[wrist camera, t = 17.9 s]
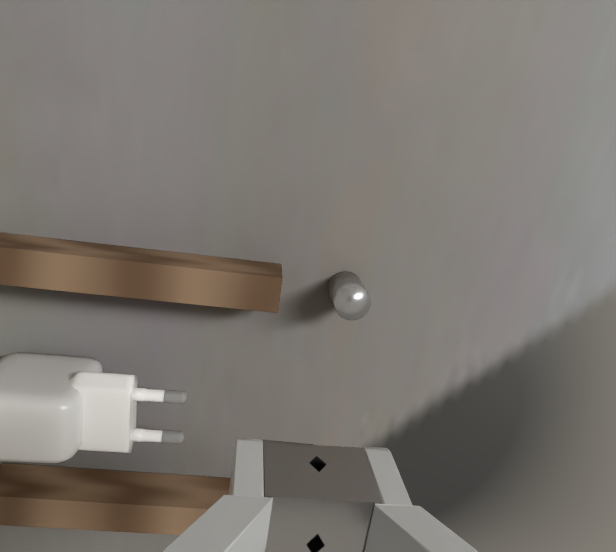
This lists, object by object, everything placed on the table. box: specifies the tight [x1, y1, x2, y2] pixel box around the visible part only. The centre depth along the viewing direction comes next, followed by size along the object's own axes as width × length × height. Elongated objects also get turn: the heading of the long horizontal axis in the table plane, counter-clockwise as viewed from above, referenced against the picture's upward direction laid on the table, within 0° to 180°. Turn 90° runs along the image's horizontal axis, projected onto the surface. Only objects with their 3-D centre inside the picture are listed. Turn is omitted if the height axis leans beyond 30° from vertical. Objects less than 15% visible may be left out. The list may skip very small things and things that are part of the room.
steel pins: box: [328, 271, 371, 320], centre depth 31 cm, size 2×17×3 cm, turn 172°
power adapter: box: [0, 353, 187, 463], centre depth 29 cm, size 11×5×6 cm, turn 83°
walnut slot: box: [0, 233, 282, 535], centre depth 30 cm, size 16×17×3 cm
